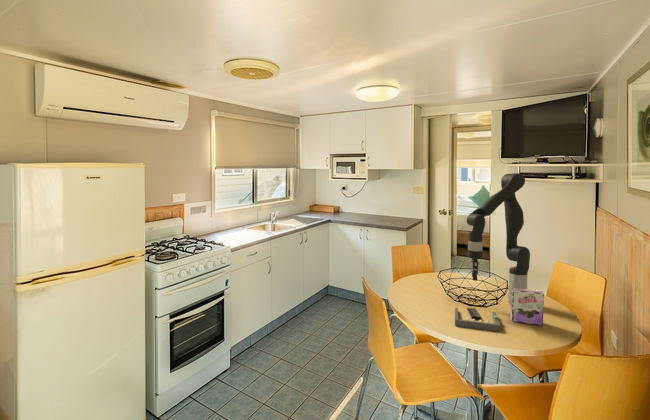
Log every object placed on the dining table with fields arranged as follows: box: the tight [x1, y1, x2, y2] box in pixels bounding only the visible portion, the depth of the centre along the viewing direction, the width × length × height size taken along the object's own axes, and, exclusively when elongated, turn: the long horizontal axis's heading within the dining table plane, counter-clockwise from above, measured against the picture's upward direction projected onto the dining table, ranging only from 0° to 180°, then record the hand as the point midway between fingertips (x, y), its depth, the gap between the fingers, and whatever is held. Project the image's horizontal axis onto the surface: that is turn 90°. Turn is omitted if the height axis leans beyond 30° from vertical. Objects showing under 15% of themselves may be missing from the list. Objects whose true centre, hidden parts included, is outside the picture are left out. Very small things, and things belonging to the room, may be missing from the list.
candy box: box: [509, 288, 545, 326], centre depth 171 cm, size 14×6×16 cm, turn 68°
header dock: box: [454, 307, 502, 333], centre depth 170 cm, size 20×20×4 cm
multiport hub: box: [466, 307, 482, 321], centre depth 179 cm, size 4×14×2 cm, turn 167°
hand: (474, 278), depth 188 cm, fingers open, 7 cm apart
